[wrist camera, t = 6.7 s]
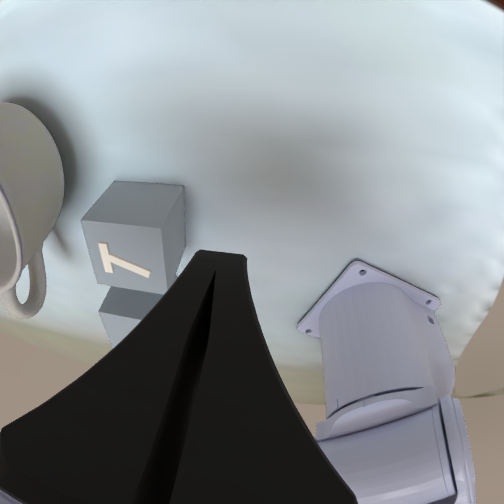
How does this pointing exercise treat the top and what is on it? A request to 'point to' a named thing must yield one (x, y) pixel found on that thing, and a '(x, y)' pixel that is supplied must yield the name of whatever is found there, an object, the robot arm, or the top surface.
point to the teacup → (26, 204)
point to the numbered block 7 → (136, 235)
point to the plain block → (125, 311)
